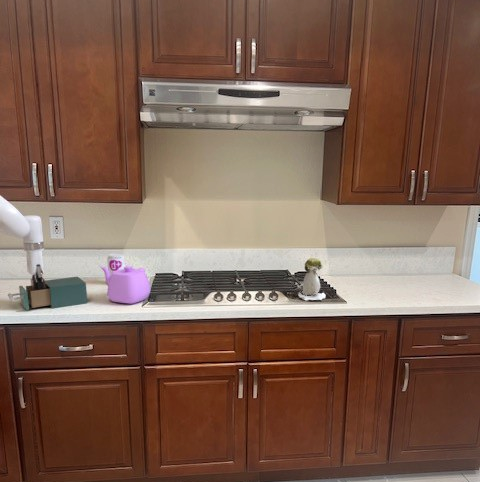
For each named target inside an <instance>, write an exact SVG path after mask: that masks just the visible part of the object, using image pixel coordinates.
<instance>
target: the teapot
mask: <svg viewBox="0 0 480 482" xmlns="http://www.w3.org/2000/svg"><path fill="white" fill-rule="evenodd" d="M99 268H100V269H101V270H102V271H103V272H104V273H103V274H104V277H105V283H106V285H107V297H108V298H109V300H110V301H111V302H114V303H115V302H116V303H121V304H129V305H135V304H137V303H139V302H142V301H144V300H146V299H147V298H148V297H149V295H150V293H151V284H150V280H149V278H148V276H147V274H146V269H145V268H144V267H140V268H133V266H132V265H125V267H124V269H121V270H118V271H115V272H113V273H112V275H111V274H110V272H109V270H108V267H106V266H100V265H99Z"/></svg>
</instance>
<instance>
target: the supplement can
mask: <svg viewBox="0 0 480 482" xmlns="http://www.w3.org/2000/svg"><path fill="white" fill-rule="evenodd" d="M106 261H107V262H106V263H107V269H108V270H109V272H110V274H111V275H112V273H113V272H115V271H118V270H121V269H124V267H125V266H126V257H125V256H124V254H123V253H109V254H108V255H107V258H106Z"/></svg>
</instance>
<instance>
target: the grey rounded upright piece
mask: <svg viewBox="0 0 480 482" xmlns="http://www.w3.org/2000/svg"><path fill="white" fill-rule="evenodd" d="M322 268H323V264H322V261H321V260H320V259H319V258H317V257H310V258H308V259H306V261H305V263H304V270H305V272H306V274H305V275H304V278H303V281H302V290H303V291H302V290H301V291H302V293H303V294H305V295H306V296H305V295H302V294H301V293H300V292H301V291H299V292H298V293H297V294H298V297H299V299H302V300H304V301H306V302H309V301H323V299H326V297H327V294H325V292H322V293H320V289H321V287H322V286H321V285H322V284H321V283H320V278H319V275H318V273H317V272H320V271H321V269H322ZM318 292H319V293H318ZM307 295H311V296H307Z"/></svg>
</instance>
